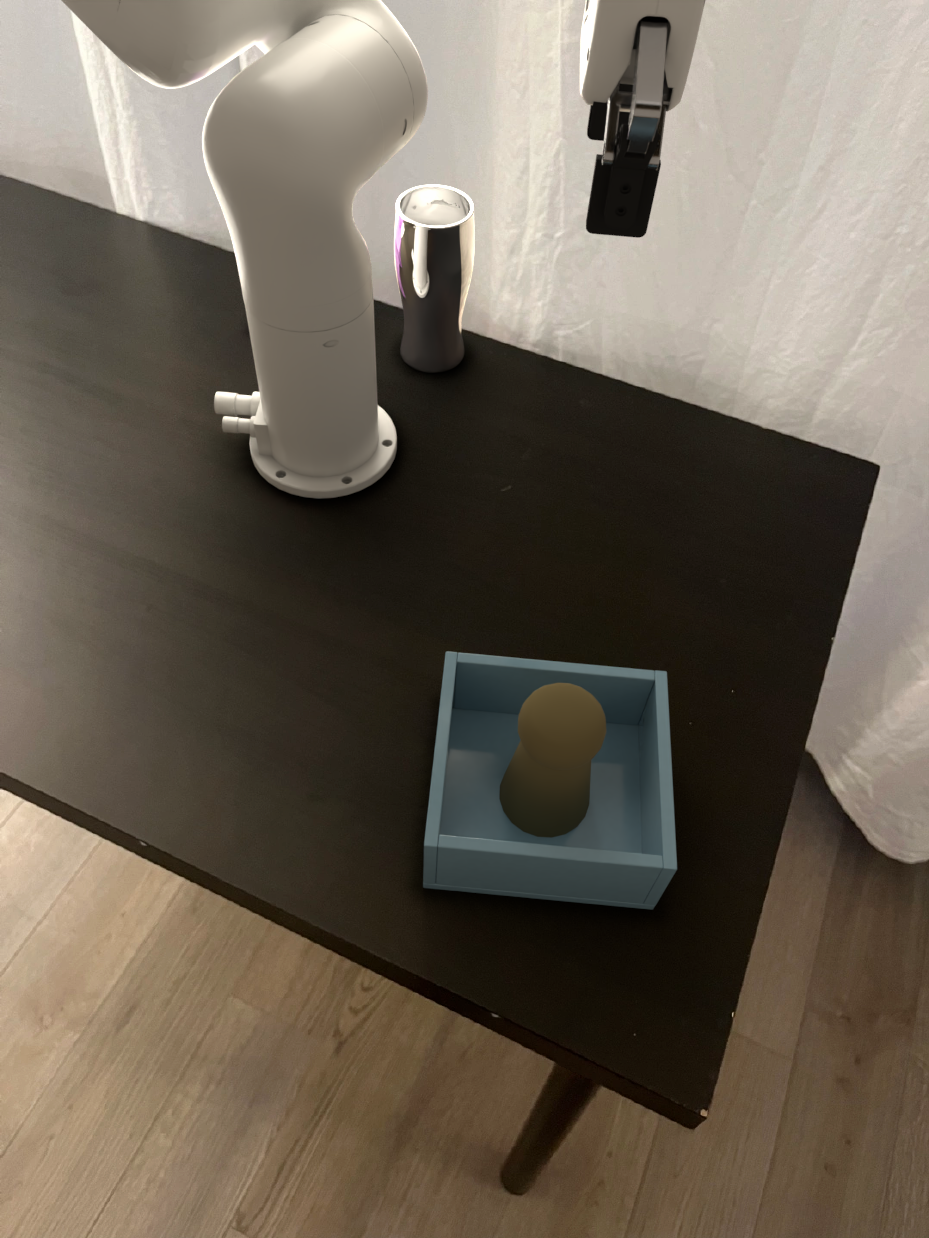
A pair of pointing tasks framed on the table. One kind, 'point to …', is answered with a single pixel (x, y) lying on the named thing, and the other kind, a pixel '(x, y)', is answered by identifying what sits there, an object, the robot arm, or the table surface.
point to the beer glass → (433, 273)
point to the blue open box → (619, 788)
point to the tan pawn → (553, 760)
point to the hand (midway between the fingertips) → (613, 183)
